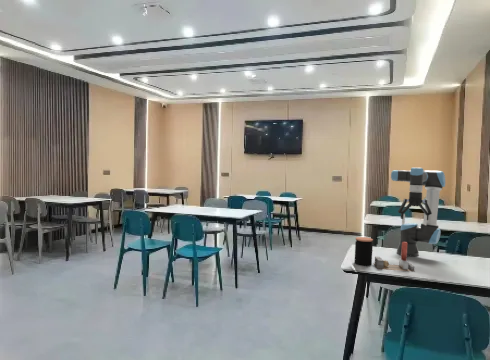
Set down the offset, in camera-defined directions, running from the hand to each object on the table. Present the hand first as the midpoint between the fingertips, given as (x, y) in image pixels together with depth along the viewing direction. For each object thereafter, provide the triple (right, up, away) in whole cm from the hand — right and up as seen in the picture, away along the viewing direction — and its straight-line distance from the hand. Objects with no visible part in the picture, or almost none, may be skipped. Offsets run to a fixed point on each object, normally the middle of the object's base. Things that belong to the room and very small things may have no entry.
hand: (414, 224), depth 234 cm
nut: (-20, -27, -3) cm, 33 cm away
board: (-15, -28, -4) cm, 32 cm away
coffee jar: (-32, -28, +3) cm, 42 cm away
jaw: (-9, -27, -5) cm, 28 cm away
